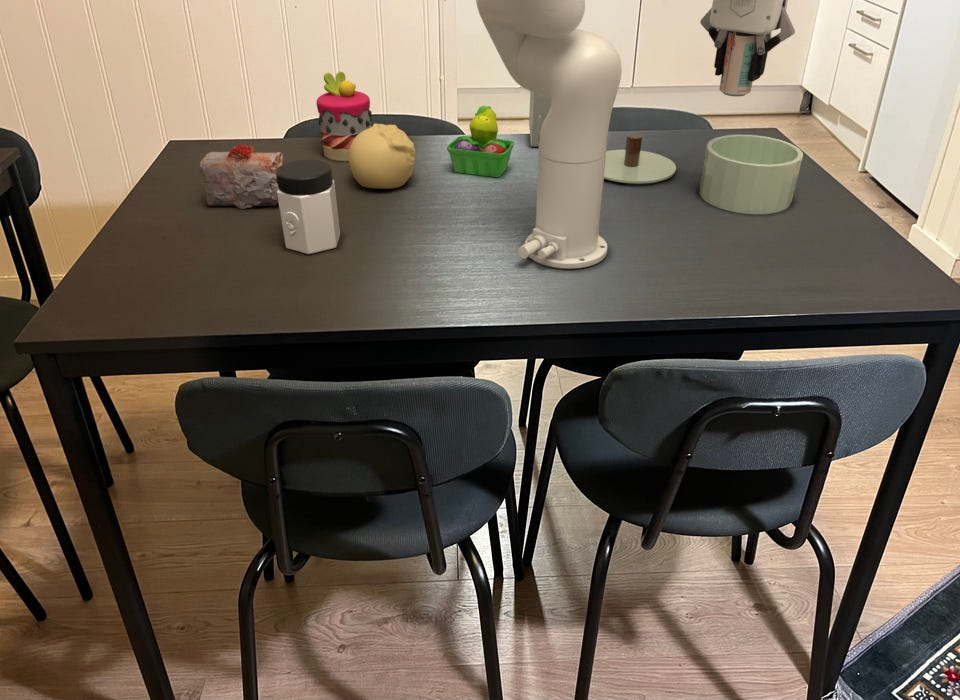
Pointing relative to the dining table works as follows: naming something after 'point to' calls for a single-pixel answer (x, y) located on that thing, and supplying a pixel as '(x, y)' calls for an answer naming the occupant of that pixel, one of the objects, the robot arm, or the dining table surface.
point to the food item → (241, 177)
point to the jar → (308, 206)
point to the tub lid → (637, 164)
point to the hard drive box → (537, 115)
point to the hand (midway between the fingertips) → (737, 75)
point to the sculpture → (382, 157)
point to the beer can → (737, 64)
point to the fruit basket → (481, 147)
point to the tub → (750, 174)
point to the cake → (341, 116)
